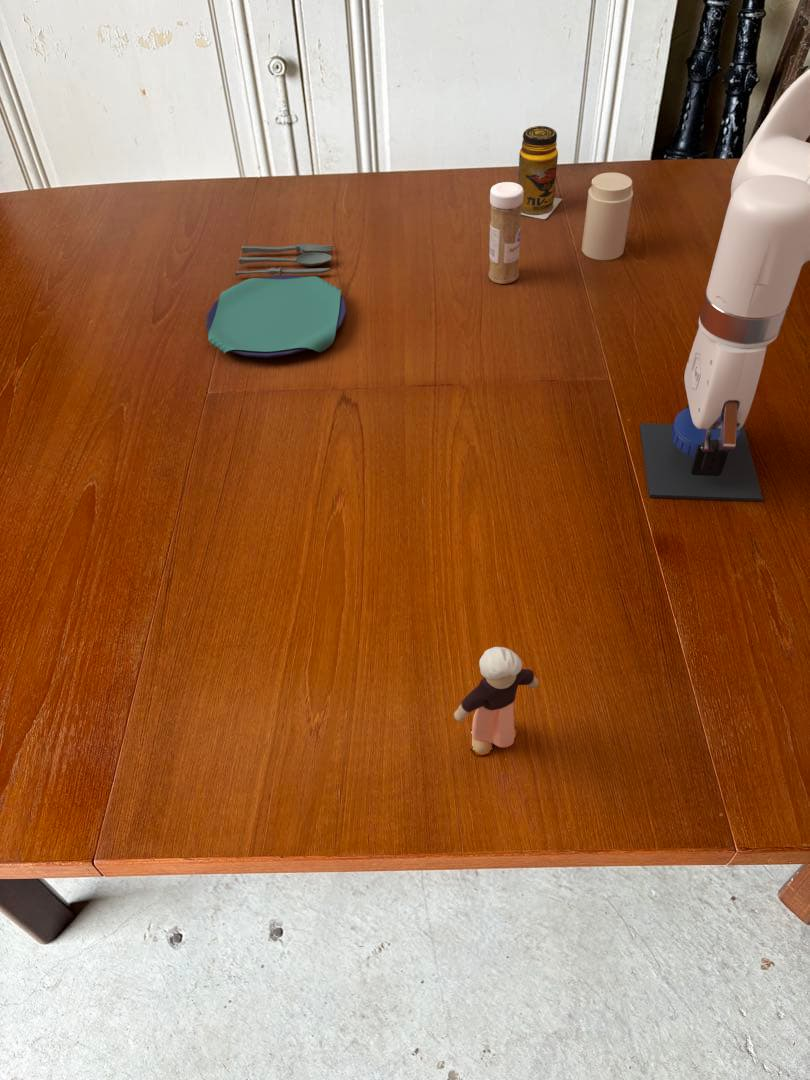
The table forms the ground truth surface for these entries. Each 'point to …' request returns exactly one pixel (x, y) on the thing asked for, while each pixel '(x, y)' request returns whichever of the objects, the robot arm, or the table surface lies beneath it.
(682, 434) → the lid
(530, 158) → the condiment
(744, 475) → the mat
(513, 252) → the spice bottle
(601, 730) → the table surface
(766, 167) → the robot arm
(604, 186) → the jar
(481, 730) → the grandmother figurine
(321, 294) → the cutlery set
